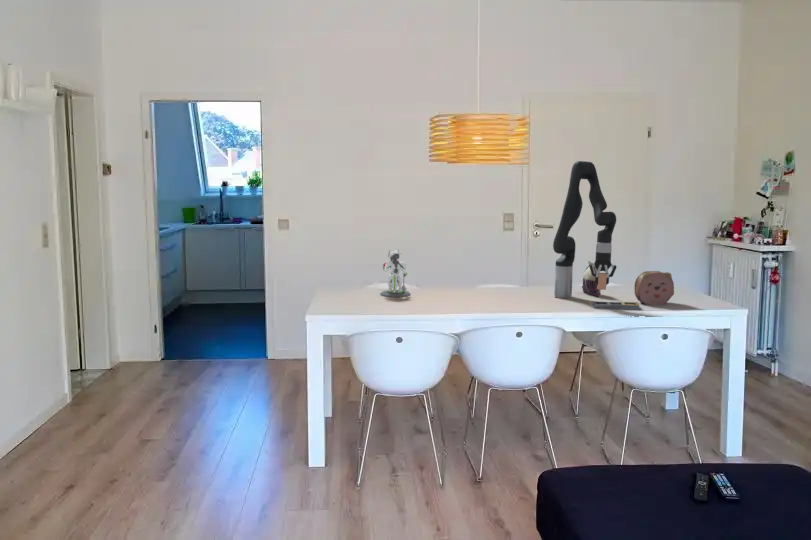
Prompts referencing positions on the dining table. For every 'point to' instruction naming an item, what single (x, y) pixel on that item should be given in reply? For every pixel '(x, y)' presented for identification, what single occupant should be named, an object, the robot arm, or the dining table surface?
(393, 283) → the figurine
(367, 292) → the dining table surface
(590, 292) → the pouch
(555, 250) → the robot arm
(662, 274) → the face sculpture
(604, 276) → the block
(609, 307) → the rail
